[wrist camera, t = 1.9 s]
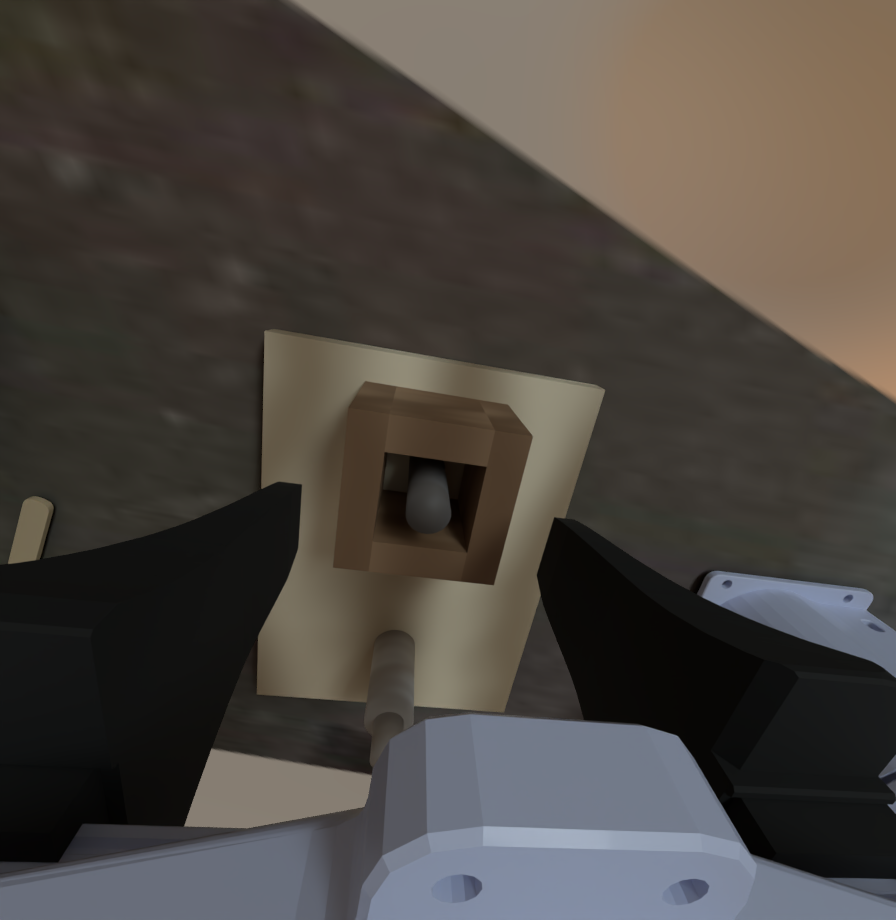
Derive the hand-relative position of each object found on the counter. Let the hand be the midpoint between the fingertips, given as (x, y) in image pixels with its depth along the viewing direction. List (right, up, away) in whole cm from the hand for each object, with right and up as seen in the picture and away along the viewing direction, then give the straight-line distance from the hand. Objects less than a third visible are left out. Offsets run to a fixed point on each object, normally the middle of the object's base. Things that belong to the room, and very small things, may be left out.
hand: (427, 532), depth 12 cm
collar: (0, +2, +5) cm, 6 cm away
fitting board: (-1, -2, +8) cm, 8 cm away
